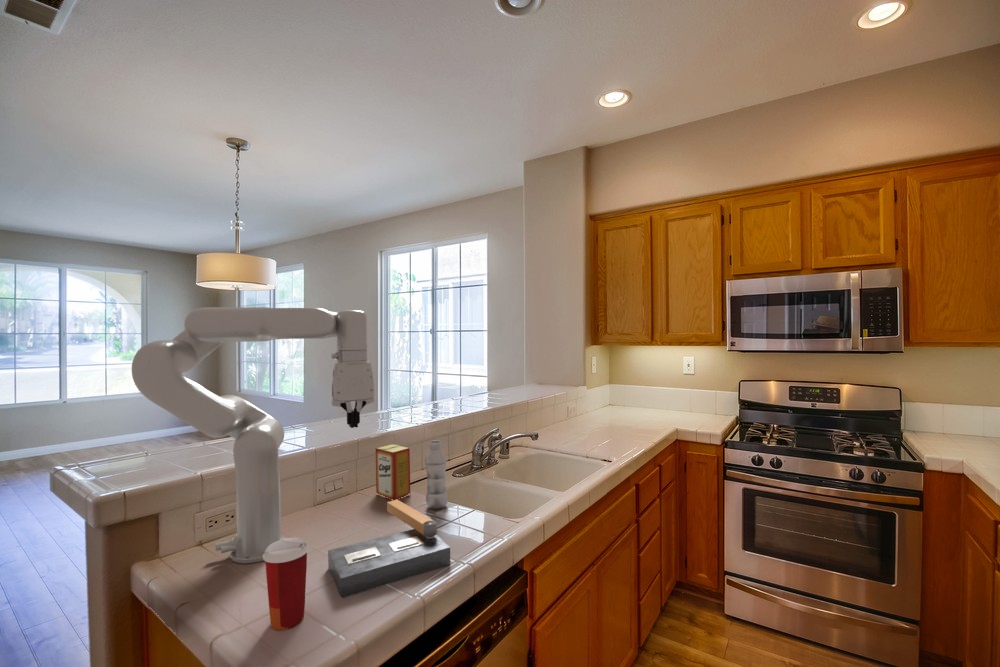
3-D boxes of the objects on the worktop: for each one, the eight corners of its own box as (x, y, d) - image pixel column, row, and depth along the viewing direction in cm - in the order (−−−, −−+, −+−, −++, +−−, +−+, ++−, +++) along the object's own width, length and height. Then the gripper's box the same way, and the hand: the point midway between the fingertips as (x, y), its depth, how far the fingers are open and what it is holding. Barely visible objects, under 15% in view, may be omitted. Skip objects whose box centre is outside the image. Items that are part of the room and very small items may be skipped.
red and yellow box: (410, 495, 148) (409, 446, 148) (394, 501, 143) (393, 451, 143) (392, 489, 154) (391, 443, 154) (376, 495, 149) (375, 447, 149)
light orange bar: (439, 533, 107) (439, 523, 107) (427, 538, 105) (427, 527, 105) (397, 508, 123) (397, 499, 123) (386, 511, 121) (386, 502, 121)
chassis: (341, 598, 90) (340, 574, 90) (328, 568, 102) (328, 547, 102) (450, 564, 102) (449, 544, 102) (427, 541, 114) (427, 522, 114)
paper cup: (316, 607, 87) (315, 535, 87) (300, 633, 79) (298, 554, 79) (275, 609, 87) (274, 536, 87) (255, 635, 79) (253, 556, 79)
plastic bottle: (444, 512, 133) (442, 444, 133) (422, 510, 134) (421, 444, 134) (450, 503, 139) (449, 439, 139) (430, 502, 141) (429, 439, 141)
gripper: (324, 358, 111) (325, 432, 111) (384, 356, 118) (385, 425, 118) (319, 357, 117) (320, 427, 117) (376, 355, 125) (377, 421, 125)
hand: (353, 426), depth 118 cm, fingers closed
